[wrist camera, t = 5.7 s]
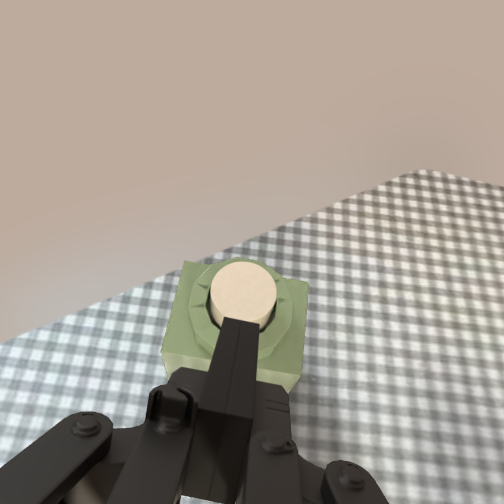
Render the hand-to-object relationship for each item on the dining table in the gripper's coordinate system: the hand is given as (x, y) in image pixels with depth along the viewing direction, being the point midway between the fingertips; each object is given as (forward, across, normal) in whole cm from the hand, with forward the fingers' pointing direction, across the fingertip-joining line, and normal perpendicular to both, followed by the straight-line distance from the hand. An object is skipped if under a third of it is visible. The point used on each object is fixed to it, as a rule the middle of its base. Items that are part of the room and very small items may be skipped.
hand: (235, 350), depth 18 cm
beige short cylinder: (+13, 0, +3) cm, 13 cm away
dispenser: (+22, 0, +12) cm, 25 cm away
